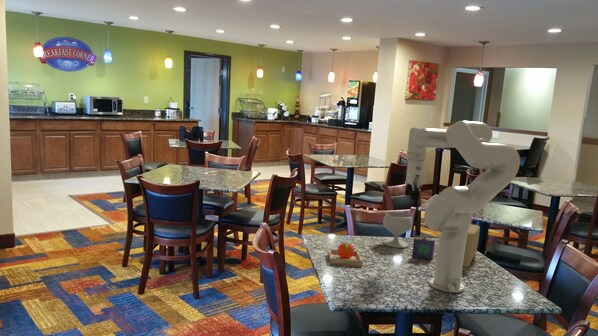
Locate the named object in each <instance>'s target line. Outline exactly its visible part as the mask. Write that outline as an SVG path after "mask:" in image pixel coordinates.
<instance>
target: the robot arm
mask: <svg viewBox="0 0 598 336" xmlns="http://www.w3.org/2000/svg"><path fill="white" fill-rule="evenodd" d="M492 137H493V129H492V128H491V127H490V126H489V125H488V124H487V123H485V122H482V121H481V122H480V121H470V120H459V121H457V122H454V123H453V124H452V125H450V126H449V127H448V128H445V129H442V128H428V127H427V128H426V127H411V128H410V129H409V135H408V144H407V152H406V161H408V162H407V167H406V174H405V175H406V176H405V177H406V178H405V192H404V195H405V197H406V196H407V197H410V200H411V201H420V191H421V186H423V184H424V171H425V170H424V169H425V168H424V167H425V165H424V164H425V162H426V156H427V148H435V149H436V148H437V149H450V148H453V149H454V148H455V149H456V150H457V151H458V152H459V153H458V154H460V155H461V157H462V159H464V161H465V162H466V163H467V164H468V165H469V166H470V167H472V168H474V169H481V170H482V169H483V170H484V169H486V170H485V171H484V172H482V173H481V174H479V175H477V176H476V177H475V179H474V180H473V181H471V183H469V184H467V185H461V186H460V185H455V186H454V185H452V186H448V187H446V188H444V189H442V191H440V193H439V194H437V196H436V197H435V198H434V199H433V200H432V202H431V203H430V204H429V205H428V206H427V207H426V209H425V211H424V216H423V221H424V223H425V226H426V227H427V228H429V229H430V230H433V231H441V233H440V235H439V238H438V244H437V251H436V258H435V259H436V260H435V266H434V267H435V268H434V269H435V270H434V275H433V278H430V279H429V283H428V284H429V285H430V286H431V287H432V288H433V289H435V290H438V291H441V292H446V293H450V294H451V293H453V294H454V293H462V292H464V291H465V285H464V284H463V283H462V276H463V275H462V274H463V268H464V266H463V260H464V252H465V245H466V239H467V234H468V231H469V228H470V225H471V224H472V220H473V214H474V213H475V214H476V213H478V212H480V211H481V210H482V209H483V208H484V207H485V206H486V205H487V204H489V203H490V202H491V201H492V200H493V199H494V198H495V197H496V196H497V194H499V193H500V192H501V191H502V190H503V189H505V188H507V186H508V185H509V184H510V183H511V182H512V181H513V180H514V179H515V178H516V176H517V174H518V172H519V170H520V163H521V158H520V154H519V153H518V151H517V149H516V148H515V147H513V146H511V145H509V144H505V143H499V142H498V143H495V142H491V140H492Z"/></svg>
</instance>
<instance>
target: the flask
mask: <svg viewBox="0 0 598 336" xmlns="http://www.w3.org/2000/svg"><path fill="white" fill-rule="evenodd" d="M435 242H436V240H435V239H433V238H431V239H430V238H428V236H427V235H425V234H424V235H423V236H422V237H419V236H418V237H414V238H413V244H412V245H413V247H412V255H411V257H412V258H411V259H416V260H417V259H418V260H424V261H426V260H427V261H428V260H429V261H433V259H434V252H435V244H436V243H435Z"/></svg>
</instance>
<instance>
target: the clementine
mask: <svg viewBox="0 0 598 336" xmlns="http://www.w3.org/2000/svg"><path fill="white" fill-rule="evenodd" d="M337 250H338V254H339V256H340V257H341V258H343V259H349V258H351V257H352V256H353V254H354V251H355V247H354V246H353V245H352V244H351V243H350V242H342V243H340V245H338V247H337Z"/></svg>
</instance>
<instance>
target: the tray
mask: <svg viewBox="0 0 598 336" xmlns="http://www.w3.org/2000/svg"><path fill="white" fill-rule="evenodd" d="M327 256H328V259H329V260H328V261H329V263H330V264H329V265H330V266H344V267H354V268H355V267H357V268H358V267H360V268H363V266H364V265H363V263H364V262H363V261H364V260H363V259H362V256H361V254H360V252H359V250H358V251H356V250H354V254H353V256H352V257H351V258H349V259H343V258H341V257H340V256H339V254H338V249H331V248H328V253H327Z"/></svg>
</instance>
